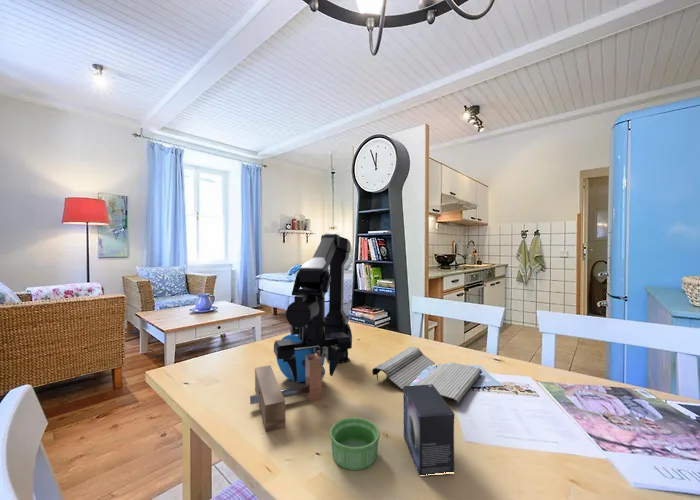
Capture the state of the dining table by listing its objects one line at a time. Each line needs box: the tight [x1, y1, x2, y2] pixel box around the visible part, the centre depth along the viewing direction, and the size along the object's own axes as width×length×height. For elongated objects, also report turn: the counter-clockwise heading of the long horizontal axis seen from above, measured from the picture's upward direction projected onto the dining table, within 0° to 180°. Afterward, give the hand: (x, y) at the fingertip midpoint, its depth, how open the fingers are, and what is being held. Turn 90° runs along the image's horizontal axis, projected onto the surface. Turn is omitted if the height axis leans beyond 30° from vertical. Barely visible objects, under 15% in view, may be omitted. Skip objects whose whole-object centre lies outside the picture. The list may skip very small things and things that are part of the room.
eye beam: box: [254, 365, 286, 433], centre depth 71 cm, size 4×20×6 cm, turn 23°
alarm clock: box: [275, 333, 328, 383], centre depth 85 cm, size 13×6×15 cm
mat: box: [371, 346, 483, 405], centre depth 86 cm, size 23×24×5 cm
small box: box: [402, 384, 456, 476], centre depth 55 cm, size 11×6×10 cm, turn 5°
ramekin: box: [329, 416, 380, 471], centre depth 55 cm, size 9×9×4 cm
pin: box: [249, 353, 323, 405], centre depth 73 cm, size 16×4×10 cm, turn 113°
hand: (313, 378), depth 76 cm, fingers open, 9 cm apart
